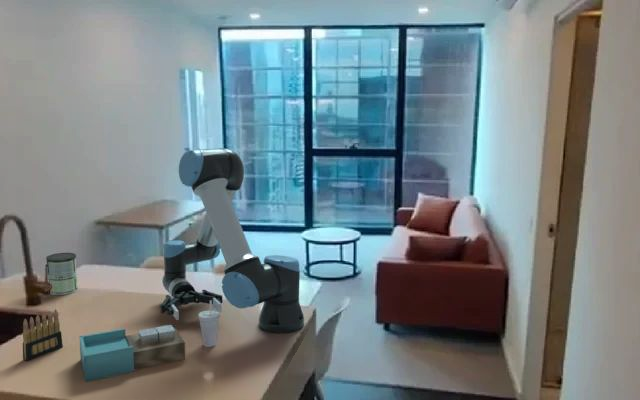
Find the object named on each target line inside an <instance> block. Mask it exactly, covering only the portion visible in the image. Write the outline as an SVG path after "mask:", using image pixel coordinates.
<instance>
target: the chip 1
mask: <svg viewBox="0 0 640 400" xmlns="http://www.w3.org/2000/svg"><path fill="white" fill-rule="evenodd" d="M138 334H139V340H140V342H141V344H142V345H144V344H149V343H154V342H158V332H157V331H156V327H151V328H144V329H139V330H138Z"/></svg>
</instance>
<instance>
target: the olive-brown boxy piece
mask: <svg viewBox="0 0 640 400" xmlns="http://www.w3.org/2000/svg"><path fill="white" fill-rule="evenodd" d="M173 328H174V329H175V339H170V340H165V341H159V340H158V342H154V343H149V344H144V345H142V344H141V342H140V340H139V333H135V334H129V335H126V339H127V342H128V344H129V346H133V356H134V371H135V370H139V369H144V368H149V367H153V366H159V365H162V364H168V363H172V362H177V361H181V360H186V342H185V340H184V339H183V337H182V336H181V335H180V332H178V330H177V328H176V327H175V326H173Z"/></svg>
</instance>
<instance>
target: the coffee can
mask: <svg viewBox="0 0 640 400" xmlns="http://www.w3.org/2000/svg"><path fill="white" fill-rule="evenodd" d="M76 258H77V254H76V253H73V252H57V253H53V254H50V255H47V256H46V257H45V259H46V268H47V267H48V272H47V281H48V280H49V282H50V283H51V284H52V286H53V290H52V291H51V293H50V294H49V295H52V296H65V295H70V294H73V293H75V292H78V289H79V288H78V276H77V275H78V273H77V259H76Z"/></svg>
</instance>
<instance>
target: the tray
mask: <svg viewBox="0 0 640 400" xmlns="http://www.w3.org/2000/svg"><path fill="white" fill-rule="evenodd" d="M126 336H127V334H126V328H120V329H115V330H109V331H108V330H107V331H103V332H97V333H90V334H85V335H79V337H78V338H79V355H80V363H81V368H82V371H83V372H82V373H83V377H84V382H85V383H87V382H91V381H95V380H101V379H103V378H104V379H105V378H109V377H110V378H111V377H114V376H117V375H118V376H119V375H122V374H126V373H131V372H132V373H133V372H135V370H134V356H133V346H129V344H128V342H127V339H126Z"/></svg>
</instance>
